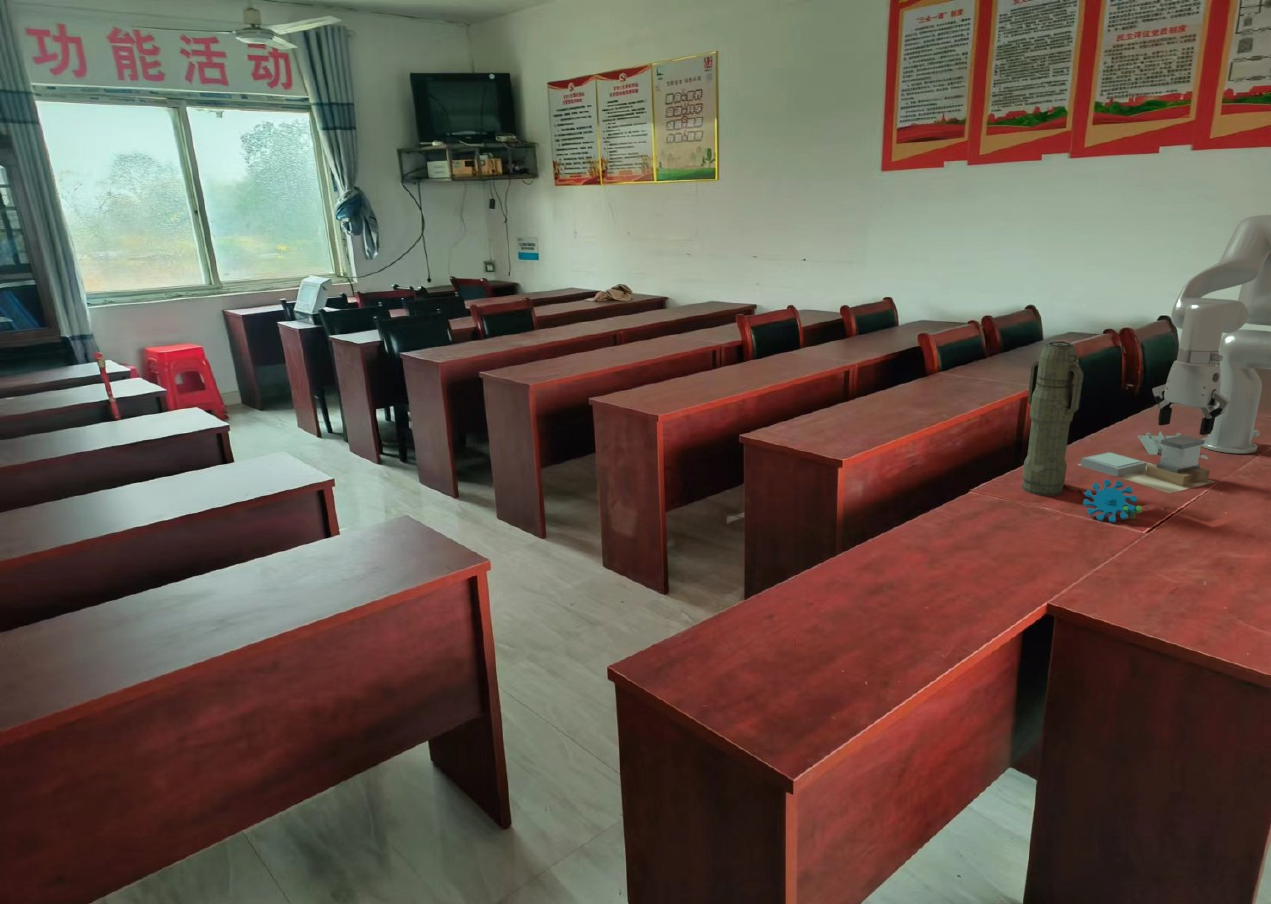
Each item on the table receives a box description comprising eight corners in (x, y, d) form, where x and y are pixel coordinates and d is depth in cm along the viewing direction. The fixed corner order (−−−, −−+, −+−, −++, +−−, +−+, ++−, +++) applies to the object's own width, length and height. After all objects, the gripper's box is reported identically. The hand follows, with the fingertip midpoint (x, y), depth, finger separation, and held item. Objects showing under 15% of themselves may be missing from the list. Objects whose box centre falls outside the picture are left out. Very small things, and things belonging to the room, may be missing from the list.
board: (1120, 458, 208) (1121, 454, 208) (1214, 485, 187) (1215, 481, 187) (1076, 468, 203) (1077, 464, 202) (1169, 497, 181) (1169, 493, 181)
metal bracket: (1130, 428, 215) (1191, 428, 213) (1124, 445, 219) (1185, 446, 216) (1149, 457, 204) (1214, 458, 201) (1143, 476, 207) (1207, 477, 204)
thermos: (1057, 500, 182) (1076, 349, 172) (1008, 487, 191) (1024, 343, 181) (1077, 491, 187) (1097, 344, 176) (1028, 479, 196) (1045, 338, 186)
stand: (1170, 469, 196) (1172, 460, 195) (1207, 480, 188) (1209, 470, 187) (1145, 475, 193) (1147, 465, 192) (1182, 486, 185) (1184, 476, 184)
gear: (1074, 508, 173) (1096, 471, 174) (1076, 520, 177) (1098, 484, 179) (1128, 529, 165) (1151, 490, 167) (1130, 540, 170) (1152, 502, 171)
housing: (1178, 462, 193) (1183, 435, 191) (1199, 468, 189) (1204, 440, 187) (1156, 467, 190) (1161, 439, 188) (1177, 473, 186) (1182, 445, 184)
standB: (1108, 459, 205) (1109, 451, 204) (1145, 470, 196) (1146, 461, 196) (1080, 465, 201) (1081, 457, 201) (1117, 476, 193) (1118, 468, 192)
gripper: (1248, 361, 175) (1233, 436, 180) (1170, 350, 191) (1158, 419, 195) (1226, 364, 172) (1211, 440, 177) (1149, 353, 188) (1138, 423, 193)
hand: (1183, 429), depth 186 cm, fingers open, 9 cm apart
